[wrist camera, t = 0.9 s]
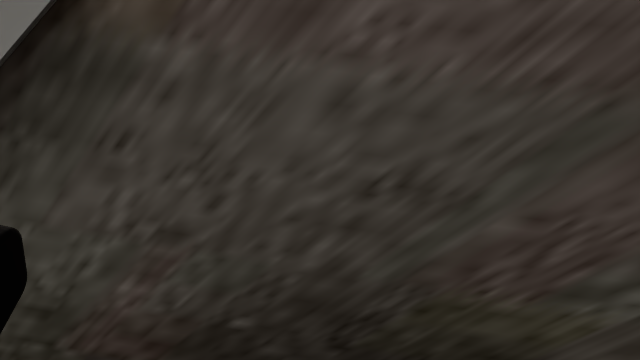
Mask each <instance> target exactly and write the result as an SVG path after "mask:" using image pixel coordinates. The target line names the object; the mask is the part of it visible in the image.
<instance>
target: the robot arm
mask: <svg viewBox="0 0 640 360" xmlns="http://www.w3.org/2000/svg"><path fill="white" fill-rule="evenodd" d="M26 282H27V269H26V262H25V256H24V249H23V242H22V237H21V234H20V233H19V231H18V230H17V229H15V228H12V227H7V226H3V225H0V334H1V332H2V330H3V328H4V326H5V325H6V323H7V321H8V319H9V317H10V315H11V314H12V312H13V310H14V308H15V306H16V304H17V303H18V301H19V299H20V297H21V295H22V293H23V291H24V289H25V286H26Z"/></svg>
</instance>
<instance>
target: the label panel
mask: <svg viewBox="0 0 640 360" xmlns="http://www.w3.org/2000/svg"><path fill="white" fill-rule="evenodd" d="M56 1H57V0H0V67H1V66H2V64H3V63H4V62H5V61H6V60H7V58H8V57H9V56H10V55H11V54H12V53H13V51H14V50H15V49H16V48H17V47H18V46H19V44H20V43H21V42H22V41H23V40H24V38H25V37H26V36H27V35H28V34H29V33H30V31H31V30H32V29H33V28H34V27H35V26H36V24H37V23H38V22H39V21H40V20H41V18H42V17H43V16H44V15H45V14H46V13H47V11H48V10H49V9H50V8H51V7H52V6H53V4H54V3H55V2H56Z"/></svg>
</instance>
